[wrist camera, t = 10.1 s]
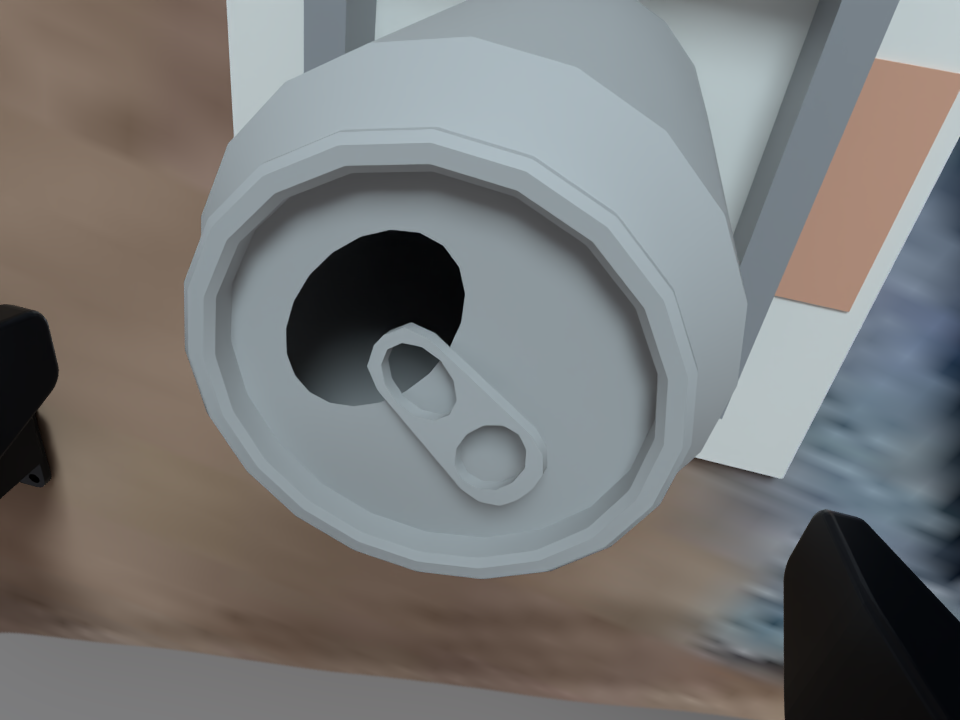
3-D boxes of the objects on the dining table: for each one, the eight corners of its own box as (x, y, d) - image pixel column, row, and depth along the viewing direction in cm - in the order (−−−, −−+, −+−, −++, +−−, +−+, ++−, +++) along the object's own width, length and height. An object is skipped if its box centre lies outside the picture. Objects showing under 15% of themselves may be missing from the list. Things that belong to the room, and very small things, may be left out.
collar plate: (254, 336, 24) (214, 377, 22) (219, -401, 14) (141, -456, 12) (779, 466, 23) (791, 525, 20) (1157, -280, 13) (1259, -319, 10)
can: (545, -110, 15) (329, -154, 5) (774, 131, 17) (929, 440, 7) (359, 143, 19) (38, 384, 9) (558, 319, 21) (461, 688, 11)
